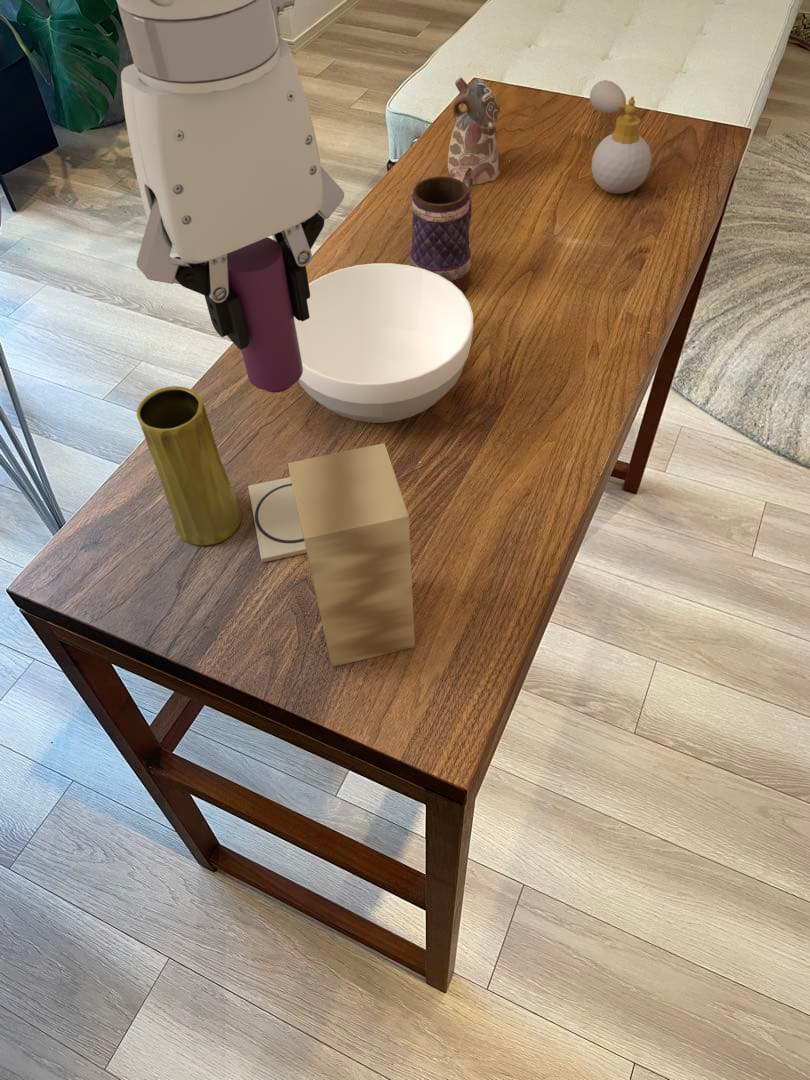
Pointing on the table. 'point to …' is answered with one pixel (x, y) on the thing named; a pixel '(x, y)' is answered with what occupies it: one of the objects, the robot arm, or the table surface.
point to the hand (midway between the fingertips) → (264, 321)
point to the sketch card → (276, 519)
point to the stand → (357, 551)
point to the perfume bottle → (619, 143)
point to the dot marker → (266, 315)
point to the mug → (443, 225)
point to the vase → (189, 465)
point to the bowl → (383, 341)
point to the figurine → (475, 131)
